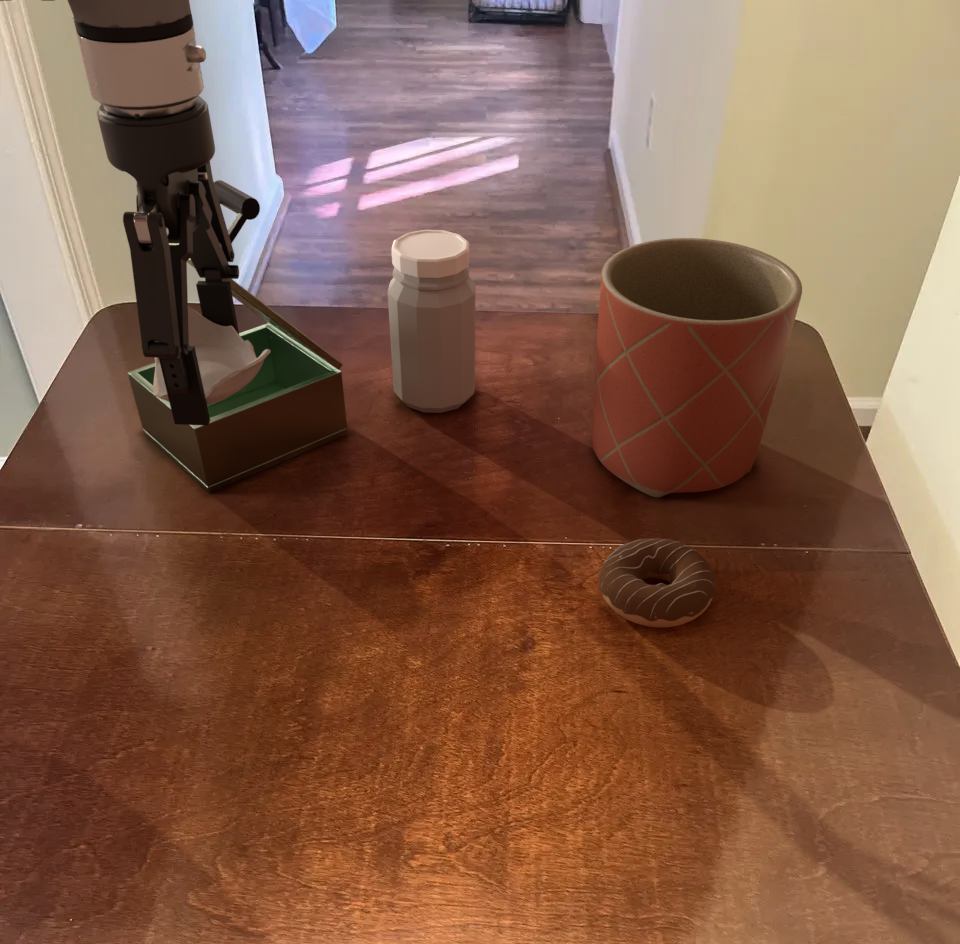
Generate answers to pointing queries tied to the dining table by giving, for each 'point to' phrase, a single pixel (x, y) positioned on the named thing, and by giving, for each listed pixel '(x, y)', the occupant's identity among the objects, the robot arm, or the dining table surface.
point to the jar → (432, 320)
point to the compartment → (251, 414)
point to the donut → (658, 602)
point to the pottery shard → (216, 359)
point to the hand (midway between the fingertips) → (210, 386)
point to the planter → (688, 361)
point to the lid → (245, 210)
